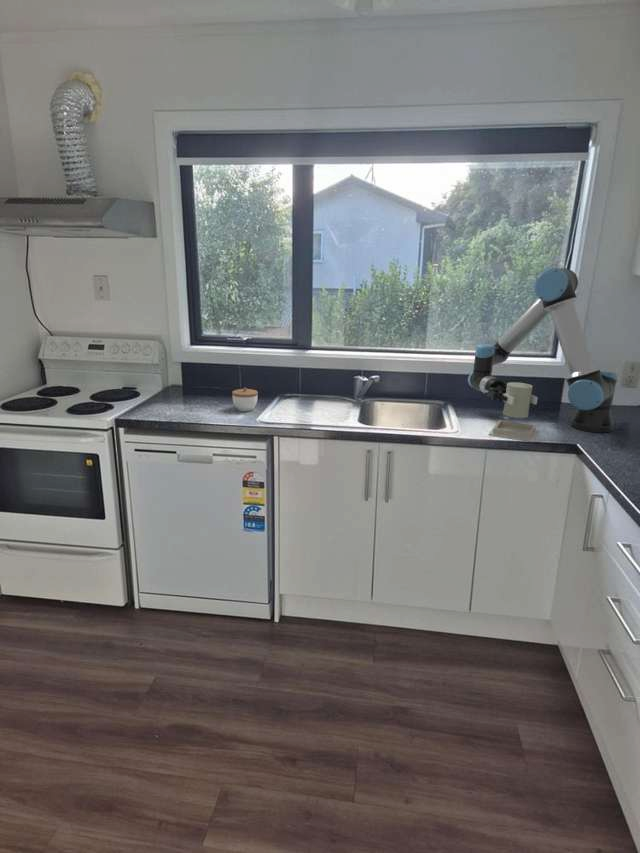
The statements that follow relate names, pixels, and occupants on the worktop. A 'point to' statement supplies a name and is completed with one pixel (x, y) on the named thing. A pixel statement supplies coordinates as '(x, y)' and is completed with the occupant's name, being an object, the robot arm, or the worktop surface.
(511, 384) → the can
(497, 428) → the square tray
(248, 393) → the lidded jar
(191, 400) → the worktop surface
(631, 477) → the worktop surface
